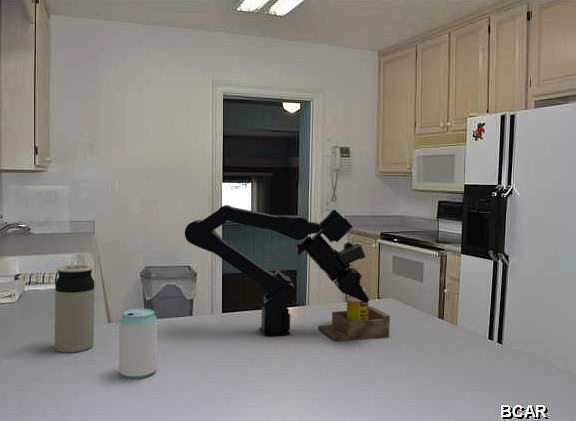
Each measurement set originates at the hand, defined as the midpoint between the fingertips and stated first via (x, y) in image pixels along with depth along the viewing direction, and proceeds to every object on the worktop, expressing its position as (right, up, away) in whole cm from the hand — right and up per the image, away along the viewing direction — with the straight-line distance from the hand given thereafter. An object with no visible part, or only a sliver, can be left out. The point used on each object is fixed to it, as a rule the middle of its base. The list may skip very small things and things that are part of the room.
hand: (364, 298), depth 128 cm
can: (-49, -9, -31) cm, 59 cm away
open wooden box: (-3, -9, 0) cm, 9 cm away
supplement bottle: (-2, -8, 0) cm, 8 cm away
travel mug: (-67, -8, -17) cm, 70 cm away
